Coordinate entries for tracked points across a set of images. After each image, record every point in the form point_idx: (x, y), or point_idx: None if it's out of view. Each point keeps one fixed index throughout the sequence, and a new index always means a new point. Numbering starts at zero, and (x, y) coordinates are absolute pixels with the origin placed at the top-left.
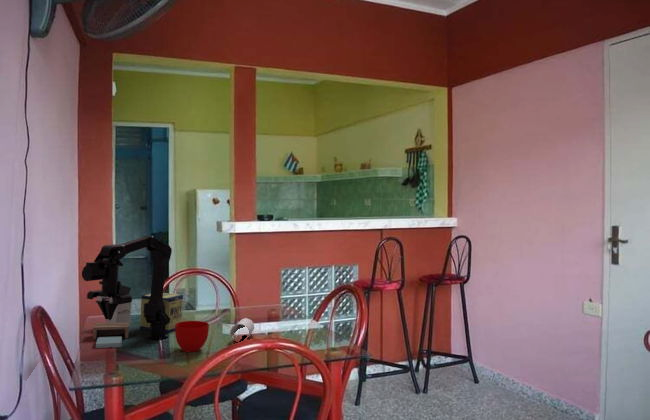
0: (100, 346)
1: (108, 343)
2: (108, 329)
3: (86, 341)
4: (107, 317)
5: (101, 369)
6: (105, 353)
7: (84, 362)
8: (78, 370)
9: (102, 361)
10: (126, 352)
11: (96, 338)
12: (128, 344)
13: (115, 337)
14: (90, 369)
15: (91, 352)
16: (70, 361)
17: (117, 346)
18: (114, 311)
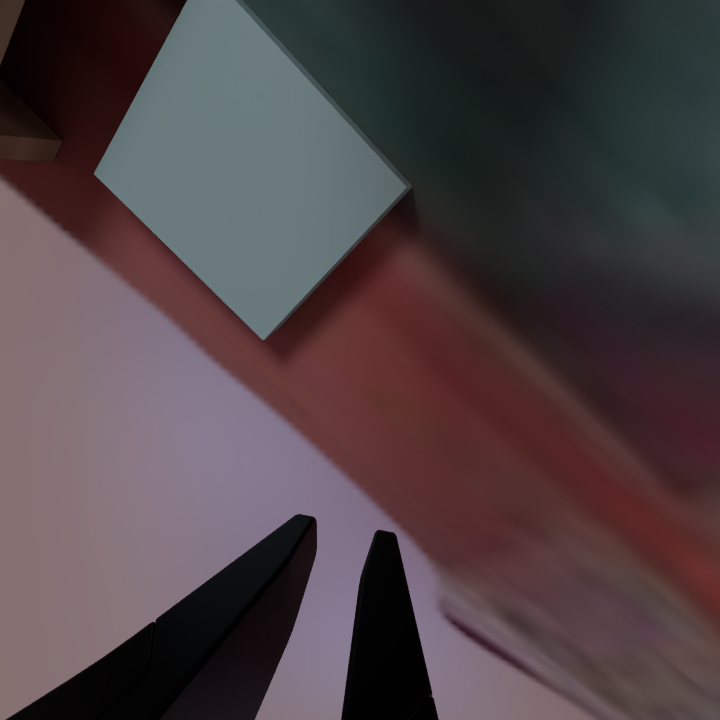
0: (295, 309)
1: (328, 271)
2: (15, 21)
3: (68, 227)
4: (305, 555)
5: (715, 664)
6: (456, 398)
7: (497, 592)
8: (587, 699)
9: (591, 546)
10: (598, 293)
11: (33, 113)
12: (403, 57)
13: (196, 59)
14: (643, 676)
15: (349, 423)
16: None
17: (390, 208)
18: (431, 690)
